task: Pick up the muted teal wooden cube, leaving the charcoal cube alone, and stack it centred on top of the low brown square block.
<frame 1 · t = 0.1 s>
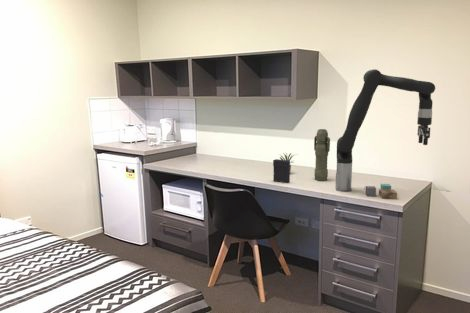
hand: (422, 144, 229), 29 cm above the worktop, tool pointing down, fingers open, 8 cm apart
teal cube: (385, 192, 232), on the worktop
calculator: (281, 182, 263), on the worktop
brown square block: (387, 197, 223), on the worktop
house plant: (288, 173, 290), on the worktop
olive green figurine: (321, 180, 268), on the worktop
charcoal cube: (370, 195, 227), on the worktop
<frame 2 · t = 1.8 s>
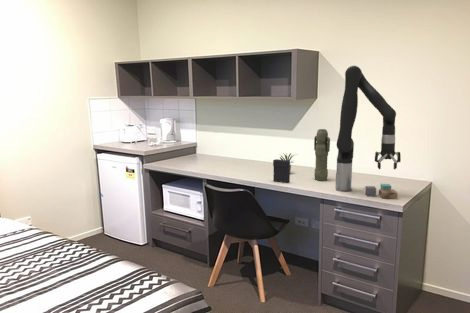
hand: (387, 169, 230), 14 cm above the worktop, tool pointing down, fingers open, 8 cm apart
nothing on the worktop moved.
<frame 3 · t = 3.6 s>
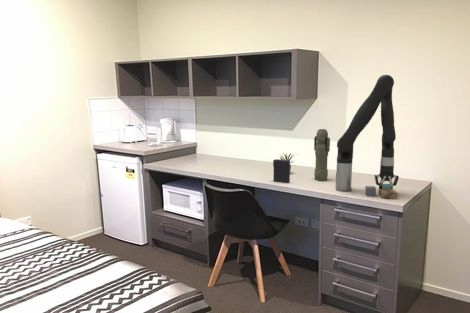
hand: (385, 191, 232), 0 cm above the worktop, tool pointing down, fingers closed on teal cube, 5 cm apart
teal cube: (385, 192, 232), on the worktop, touching gripper
everything else where it was.
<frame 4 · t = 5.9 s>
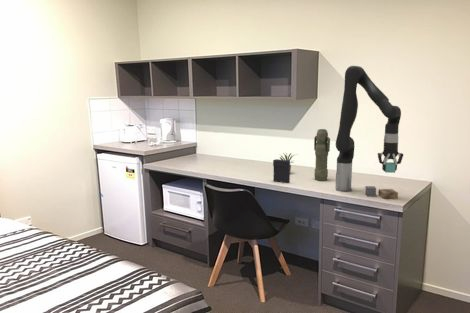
hand: (389, 170, 220), 15 cm above the worktop, tool pointing down, fingers closed on teal cube, 5 cm apart
teal cube: (389, 171, 220), point 15 cm above the worktop, touching gripper
everything else where it was.
when the fingers open (6 cm above the worktop, at t = 8.5 s): teal cube drops 2 cm, point 4 cm above the worktop.
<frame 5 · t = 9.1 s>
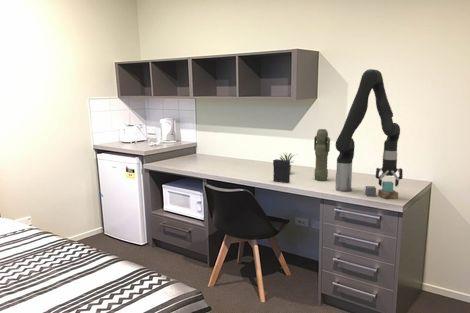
hand: (388, 185, 222), 7 cm above the worktop, tool pointing down, fingers open, 8 cm apart
teal cube: (387, 190, 222), point 4 cm above the worktop
everything else where it was.
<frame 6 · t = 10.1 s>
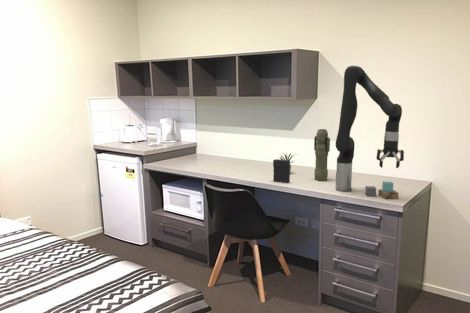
hand: (389, 167, 220), 17 cm above the worktop, tool pointing down, fingers open, 8 cm apart
teal cube: (387, 190, 222), point 4 cm above the worktop, touching brown square block
brown square block: (388, 197, 223), on the worktop, touching teal cube
everything else where it was.
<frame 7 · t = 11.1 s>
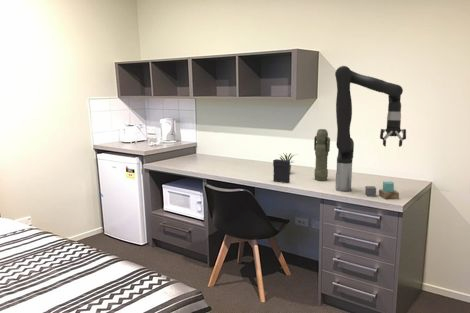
hand: (392, 146, 230), 28 cm above the worktop, tool pointing down, fingers open, 8 cm apart
nothing on the worktop moved.
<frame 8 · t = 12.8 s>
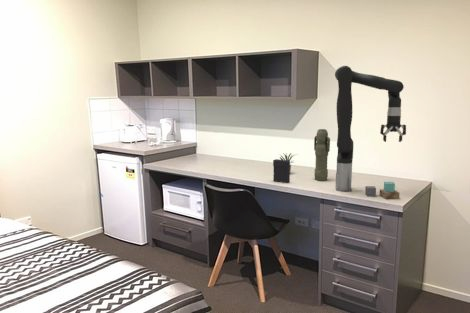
hand: (392, 141, 234), 30 cm above the worktop, tool pointing down, fingers open, 8 cm apart
nothing on the worktop moved.
at the end: teal cube 0.5 cm off-centre on the brown square block, point 4.0 cm above the brown square block's base; teal cube tilted 0°; the gripper is holding nothing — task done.
